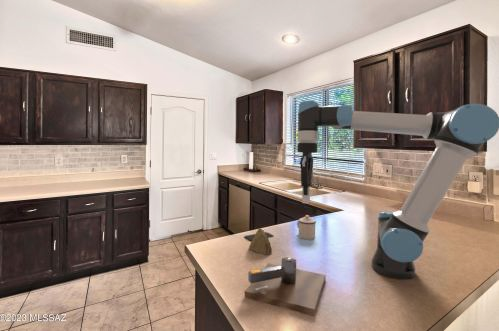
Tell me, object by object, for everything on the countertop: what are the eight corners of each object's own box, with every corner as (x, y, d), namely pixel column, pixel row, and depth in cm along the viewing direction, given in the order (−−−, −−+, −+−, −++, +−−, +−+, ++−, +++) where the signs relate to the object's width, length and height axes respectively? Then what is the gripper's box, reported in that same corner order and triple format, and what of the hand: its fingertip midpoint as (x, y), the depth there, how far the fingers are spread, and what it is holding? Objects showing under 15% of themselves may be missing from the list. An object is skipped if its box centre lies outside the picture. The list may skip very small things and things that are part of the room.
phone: (274, 235, 140) (250, 240, 132) (274, 237, 140) (250, 242, 132) (266, 231, 146) (243, 236, 139) (266, 233, 146) (243, 237, 139)
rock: (278, 249, 117) (269, 238, 126) (269, 236, 114) (260, 226, 123) (259, 265, 115) (252, 253, 124) (249, 252, 112) (242, 241, 121)
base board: (325, 280, 94) (325, 274, 94) (314, 316, 74) (314, 308, 74) (268, 268, 103) (268, 263, 103) (244, 297, 83) (244, 290, 83)
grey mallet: (291, 275, 93) (291, 254, 92) (298, 282, 88) (299, 260, 88) (246, 284, 86) (246, 262, 86) (252, 292, 82) (252, 268, 81)
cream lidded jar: (319, 237, 139) (319, 216, 138) (306, 240, 134) (307, 218, 133) (303, 231, 149) (303, 211, 148) (291, 234, 144) (291, 213, 143)
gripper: (301, 142, 107) (300, 199, 109) (293, 141, 95) (292, 205, 97) (320, 142, 104) (318, 200, 106) (314, 142, 92) (312, 207, 94)
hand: (305, 202), depth 102 cm, fingers closed
